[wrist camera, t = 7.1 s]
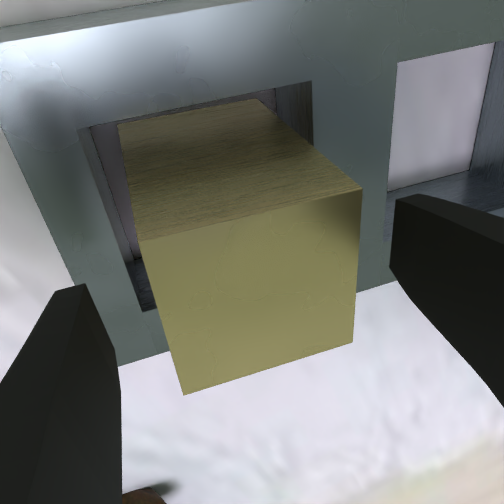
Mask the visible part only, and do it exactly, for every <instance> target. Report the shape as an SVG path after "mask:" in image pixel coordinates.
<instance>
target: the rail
mask: <svg viewBox="0 0 504 504" xmlns="http://www.w3.org/2000/svg"><path fill="white" fill-rule="evenodd" d="M492 42H496V44H495V49H494V54H493V59H492V64H491V68H490V73H489V78H488V83H487V88H486V93H485V98H484V103H483V108H482V113H481V118H480V122H479V127H478V132H477V137H476V142H475V147H474V152H473V157H472V162H471V167H470V170H469V171H465V172H462V173H458V174H454V175H450V176H447V177H443V178H439V179H436V180H432V181H428V182H424V183H421V184H417V185H413V186H409V187H406V188H402V189H398V190H394V191H391V192H387V183H388V171H389V159H390V147H391V135H392V123H393V110H394V98H395V86H396V74H397V62H401V61H406V60H411V59H416V58H420V57H425V56H430V55H435V54H440V53H444V52H449V51H454V50H459V49H463V48H468V47H473V46H478V45H483V44H487V43H492ZM272 88H275V92H276V104H277V116H278V117H279V118H280V119H281V120H282V121H284V122H285V123H286V124H287V125H288V126H290V127H291V128H292V129H293V130H294V131H295V132H297V133H298V134H299V135H300V136H301V137H303V138H304V139H305V140H306V141H307V142H308V143H310V144H311V145H312V146H313V147H314V148H316V149H317V150H318V151H319V152H320V153H321V154H323V155H324V156H325V157H326V158H327V159H328V160H330V161H331V162H332V163H333V164H334V165H336V166H337V167H338V168H339V169H340V170H341V171H343V172H344V173H345V174H346V175H347V176H349V177H350V178H351V179H352V180H353V181H354V182H356V183H357V184H358V185H359V186H360V187H361V188H363V196H362V210H361V225H360V240H359V255H358V269H357V284H356V293H358V292H361V291H364V290H367V289H370V288H374V287H377V286H380V285H383V284H387V283H390V282H393V281H396V280H397V279H396V278H395V276H394V274H393V273H392V271H391V270H390V268H389V262H390V252H391V241H392V231H393V220H394V210H395V199H399V198H403V197H407V196H410V195H414V194H418V193H419V194H424V195H429V196H433V197H437V198H440V199H444V200H447V201H451V202H454V203H457V204H461V205H464V206H467V207H470V208H474V209H477V210H480V211H483V212H487V213H490V214H493V215H496V216H499V217H503V218H504V0H167V1H161V2H154V3H148V4H142V5H136V6H130V7H124V8H117V9H111V10H105V11H99V12H93V13H87V14H80V15H74V16H68V17H62V18H56V19H50V20H43V21H37V22H31V23H25V24H19V25H13V26H6V27H0V126H1V128H2V130H3V132H4V134H5V136H6V139H7V141H8V143H9V145H10V147H11V149H12V151H13V154H14V156H15V158H16V160H17V162H18V164H19V166H20V169H21V171H22V173H23V175H24V177H25V179H26V181H27V184H28V186H29V188H30V190H31V192H32V194H33V197H34V199H35V201H36V203H37V205H38V207H39V209H40V212H41V214H42V216H43V218H44V220H45V222H46V224H47V227H48V229H49V231H50V233H51V235H52V237H53V239H54V242H55V244H56V246H57V248H58V250H59V252H60V254H61V257H62V259H63V261H64V263H65V265H66V267H67V269H68V272H69V274H70V276H71V278H72V280H73V282H74V284H75V286H76V285H80V284H83V283H86V286H87V288H88V290H89V292H90V295H91V297H92V299H93V301H94V304H95V306H96V308H97V310H98V313H99V315H100V317H101V319H102V322H103V324H104V326H105V328H106V331H107V333H108V335H109V337H110V339H111V342H112V344H113V346H114V348H115V353H116V360H117V367H119V366H122V365H125V364H129V363H132V362H135V361H138V360H141V359H145V358H148V357H151V356H154V355H158V354H161V353H164V352H167V351H170V349H169V345H168V342H167V338H166V335H165V332H164V328H163V325H162V322H161V318H160V315H159V312H158V308H157V305H156V302H155V298H154V295H153V291H152V288H151V285H150V281H149V278H148V275H147V271H146V268H145V265H144V261H143V258H141V259H137V260H134V258H133V255H132V252H131V249H130V246H129V244H128V241H127V238H126V235H125V232H124V229H123V226H122V223H121V220H120V217H119V214H118V211H117V209H116V206H115V203H114V200H113V197H112V194H111V191H110V188H109V185H108V182H107V179H106V177H105V174H104V171H103V168H102V165H101V162H100V159H99V156H98V153H97V150H96V147H95V145H94V142H93V139H92V136H91V133H90V130H89V126H94V125H99V124H104V123H108V122H113V121H118V120H123V119H128V118H132V117H137V116H142V115H147V114H152V113H156V112H161V111H166V110H171V109H176V108H180V107H185V106H190V105H195V104H200V103H204V102H209V101H214V100H219V99H224V98H228V97H233V96H238V95H243V94H248V93H252V92H257V91H262V90H267V89H272Z"/></svg>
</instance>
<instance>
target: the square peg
mask: <svg viewBox="0 0 504 504" xmlns="http://www.w3.org/2000/svg"><path fill="white" fill-rule="evenodd" d="M117 126H118V131H119V137H120V143H121V148H122V154H123V160H124V166H125V171H126V177H127V183H128V188H129V194H130V200H131V206H132V211H133V217H134V223H135V228H136V234H137V240H138V244H139V248H140V251H141V255H142V258H143V261H144V265H145V268H146V271H147V275H148V278H149V281H150V285H151V288H152V291H153V295H154V298H155V302H156V305H157V308H158V312H159V315H160V318H161V322H162V325H163V328H164V332H165V335H166V338H167V342H168V345H169V349H170V352H171V355H172V359H173V362H174V365H175V369H176V372H177V375H178V379H179V382H180V385H181V389H182V392H183V395H187V394H190V393H194V392H197V391H200V390H203V389H206V388H209V387H213V386H216V385H219V384H222V383H225V382H228V381H232V380H235V379H238V378H241V377H244V376H247V375H251V374H254V373H257V372H260V371H263V370H266V369H270V368H273V367H276V366H279V365H282V364H285V363H289V362H292V361H295V360H298V359H301V358H305V357H308V356H311V355H314V354H317V353H320V352H324V351H327V350H330V349H333V348H336V347H339V346H343V345H346V344H349V343H352V342H353V329H354V314H355V299H356V284H357V269H358V255H359V240H360V225H361V210H362V196H363V188H361V187H360V186H359V185H358V184H357V183H356V182H354V181H353V180H352V179H351V178H350V177H349V176H347V175H346V174H345V173H344V172H343V171H341V170H340V169H339V168H338V167H337V166H336V165H334V164H333V163H332V162H331V161H330V160H328V159H327V158H326V157H325V156H324V155H323V154H321V153H320V152H319V151H318V150H317V149H316V148H314V147H313V146H312V145H311V144H310V143H308V142H307V141H306V140H305V139H304V138H303V137H301V136H300V135H299V134H298V133H297V132H295V131H294V130H293V129H292V128H291V127H290V126H288V125H287V124H286V123H285V122H284V121H282V120H281V119H280V118H279V117H278V116H277V115H275V114H274V113H273V112H272V111H271V110H270V109H268V108H267V107H266V106H265V105H264V104H262V103H261V102H260V101H259V100H258V99H257V98H254V99H249V100H243V101H238V102H233V103H227V104H222V105H217V106H211V107H206V108H201V109H195V110H190V111H185V112H179V113H174V114H169V115H163V116H158V117H153V118H147V119H142V120H137V121H131V122H126V123H120V124H117Z"/></svg>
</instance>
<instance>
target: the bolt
mask: <svg viewBox="0 0 504 504" xmlns="http://www.w3.org/2000/svg"><path fill="white" fill-rule="evenodd" d="M122 503H123V504H166V503H165V502H164V500H163V499H162V498H161V497H160V496H159V495H158V494H157V493H156V492H155V491H154V490H153V489H152V488H147V489H139V490H134V491H131V492H128V493H125V494H122Z"/></svg>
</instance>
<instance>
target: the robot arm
mask: <svg viewBox="0 0 504 504" xmlns="http://www.w3.org/2000/svg"><path fill="white" fill-rule="evenodd" d="M389 268H390V270H391V271H392V273H393V274H394V276H395V278H396V279H397V281H398V282H399V284H400V285H401V287H402V288H403V290H404V291H405V292H406V294H407V295H408V297H409V298H410V299H411V301H412V302H413V303H414V304H415V305H416V306H417V308H418V309H419V310H420V311H421V312H422V313H423V314H424V315H425V316H426V318H427V319H428V320H429V321H430V322H431V323H432V324H433V325H434V326H435V328H436V329H437V330H438V331H439V332H440V333H441V334H442V335H443V336H444V337H445V338H446V340H447V341H448V342H449V343H450V344H451V345H452V346H453V347H454V348H455V349H456V350H457V352H458V353H459V354H460V355H461V356H462V357H463V358H464V359H465V360H466V361H467V362H468V364H469V365H470V366H471V367H472V368H473V369H474V370H475V371H476V373H477V374H478V375H479V376H480V377H481V379H482V380H483V381H484V382H485V383H486V384H487V386H488V387H489V388H490V390H491V391H492V392H493V394H494V395H495V396H496V398H497V399H498V400H499V402H500V403H501V405H502V406H503V407H504V218H503V217H499V216H496V215H493V214H490V213H487V212H483V211H480V210H477V209H474V208H470V207H467V206H464V205H461V204H457V203H454V202H451V201H447V200H444V199H440V198H437V197H433V196H429V195H424V194H419V193H418V194H414V195H410V196H407V197H403V198H399V199H395V210H394V220H393V231H392V241H391V252H390V262H389ZM0 504H123V503H122V433H121V389H120V381H119V374H118V367H117V360H116V353H115V348H114V346H113V344H112V342H111V339H110V337H109V335H108V333H107V331H106V328H105V326H104V324H103V322H102V319H101V317H100V315H99V313H98V310H97V308H96V306H95V304H94V301H93V299H92V297H91V295H90V292H89V290H88V288H87V286H86V283H83V284H80V285H76V286H72V287H69V288H65V289H61V290H58V291H55V292H54V294H53V296H52V297H51V299H50V300H49V302H48V304H47V305H46V307H45V309H44V311H43V312H42V314H41V316H40V318H39V319H38V321H37V323H36V325H35V326H34V328H33V330H32V332H31V333H30V335H29V337H28V338H27V340H26V342H25V344H24V345H23V347H22V349H21V350H20V352H19V353H18V355H17V357H16V358H15V360H14V362H13V363H12V365H11V367H10V368H9V370H8V371H7V373H6V375H5V376H4V378H3V379H2V381H1V383H0Z"/></svg>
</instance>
